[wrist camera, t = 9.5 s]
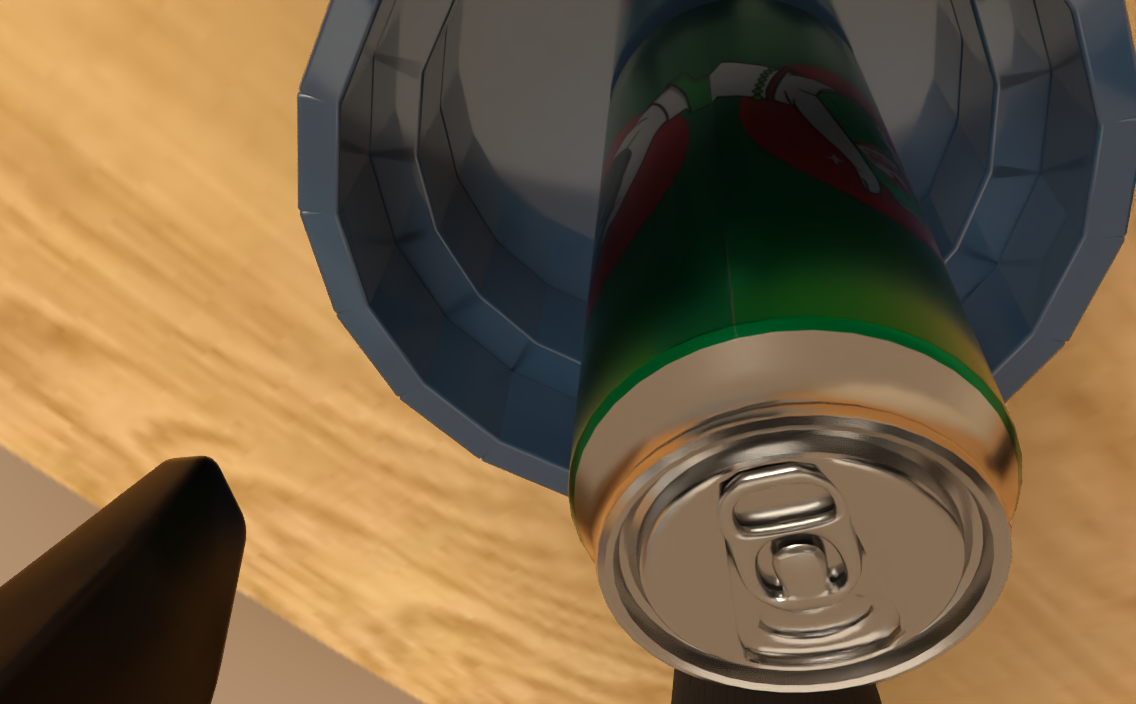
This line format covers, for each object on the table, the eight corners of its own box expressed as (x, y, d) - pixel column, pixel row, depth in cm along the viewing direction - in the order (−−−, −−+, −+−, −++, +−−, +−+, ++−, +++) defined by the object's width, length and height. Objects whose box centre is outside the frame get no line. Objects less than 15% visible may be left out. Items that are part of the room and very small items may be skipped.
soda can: (649, 252, 22) (639, 742, 13) (574, 35, 20) (488, 449, 10) (884, 190, 21) (1071, 683, 11) (837, -51, 18) (1031, 328, 9)
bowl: (1087, -355, 16) (1231, -341, 12) (1010, 342, 24) (1082, 493, 19) (278, -207, 18) (167, -153, 14) (450, 388, 26) (411, 534, 22)
